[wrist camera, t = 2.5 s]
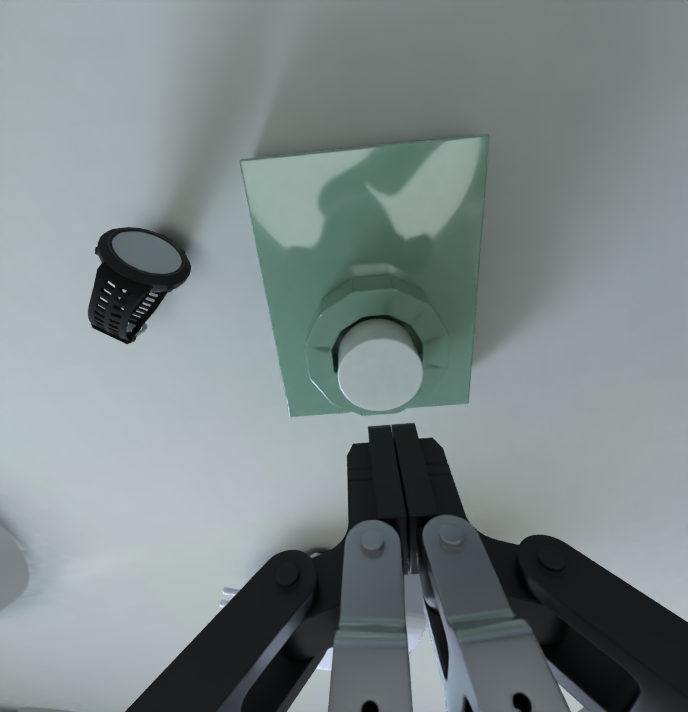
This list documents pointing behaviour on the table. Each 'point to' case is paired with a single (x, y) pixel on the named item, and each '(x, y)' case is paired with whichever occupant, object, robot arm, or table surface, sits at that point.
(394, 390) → the white cylindrical knob
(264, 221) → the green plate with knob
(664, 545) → the table surface
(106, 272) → the smartwatch
